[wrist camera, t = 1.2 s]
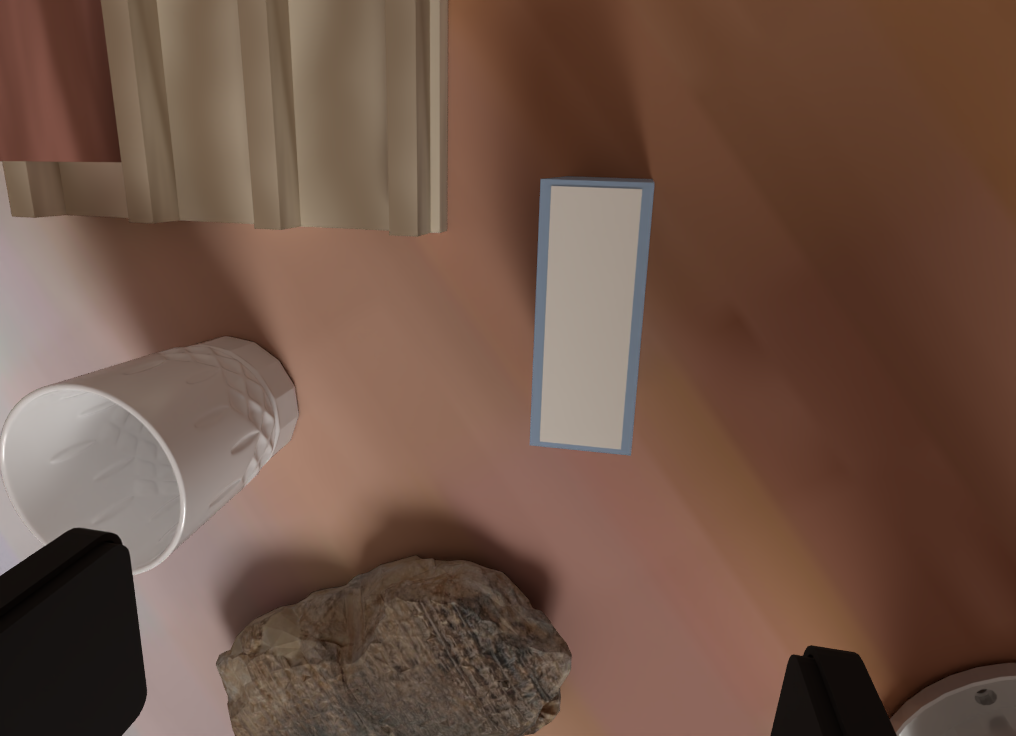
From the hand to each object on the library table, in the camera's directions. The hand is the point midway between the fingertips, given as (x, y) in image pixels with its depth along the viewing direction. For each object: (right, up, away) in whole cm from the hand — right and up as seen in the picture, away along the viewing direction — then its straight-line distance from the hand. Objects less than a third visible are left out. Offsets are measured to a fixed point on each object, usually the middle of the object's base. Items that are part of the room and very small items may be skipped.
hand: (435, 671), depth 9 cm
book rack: (-11, +18, +21) cm, 30 cm away
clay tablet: (-4, -12, +29) cm, 31 cm away
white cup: (-13, +3, +26) cm, 29 cm away
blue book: (+5, +8, +20) cm, 22 cm away
